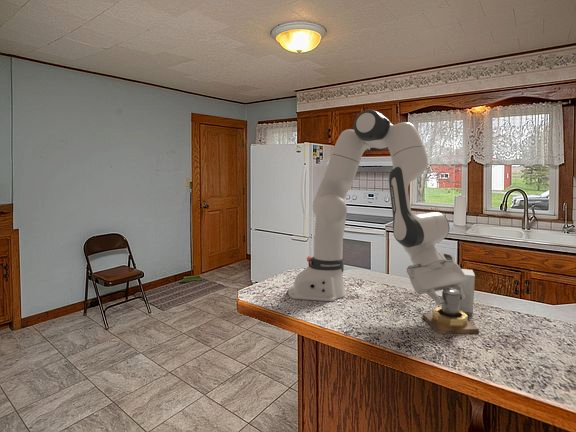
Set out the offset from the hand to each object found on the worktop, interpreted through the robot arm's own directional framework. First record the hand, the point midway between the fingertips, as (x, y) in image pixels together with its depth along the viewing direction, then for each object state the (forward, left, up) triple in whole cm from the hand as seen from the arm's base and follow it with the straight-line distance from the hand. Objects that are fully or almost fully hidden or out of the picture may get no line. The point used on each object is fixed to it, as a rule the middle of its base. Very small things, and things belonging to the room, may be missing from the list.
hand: (452, 301), depth 110 cm
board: (0, 0, -8) cm, 8 cm away
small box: (+11, +14, -8) cm, 20 cm away
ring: (0, 0, -6) cm, 6 cm away
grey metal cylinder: (0, 0, -6) cm, 6 cm away
